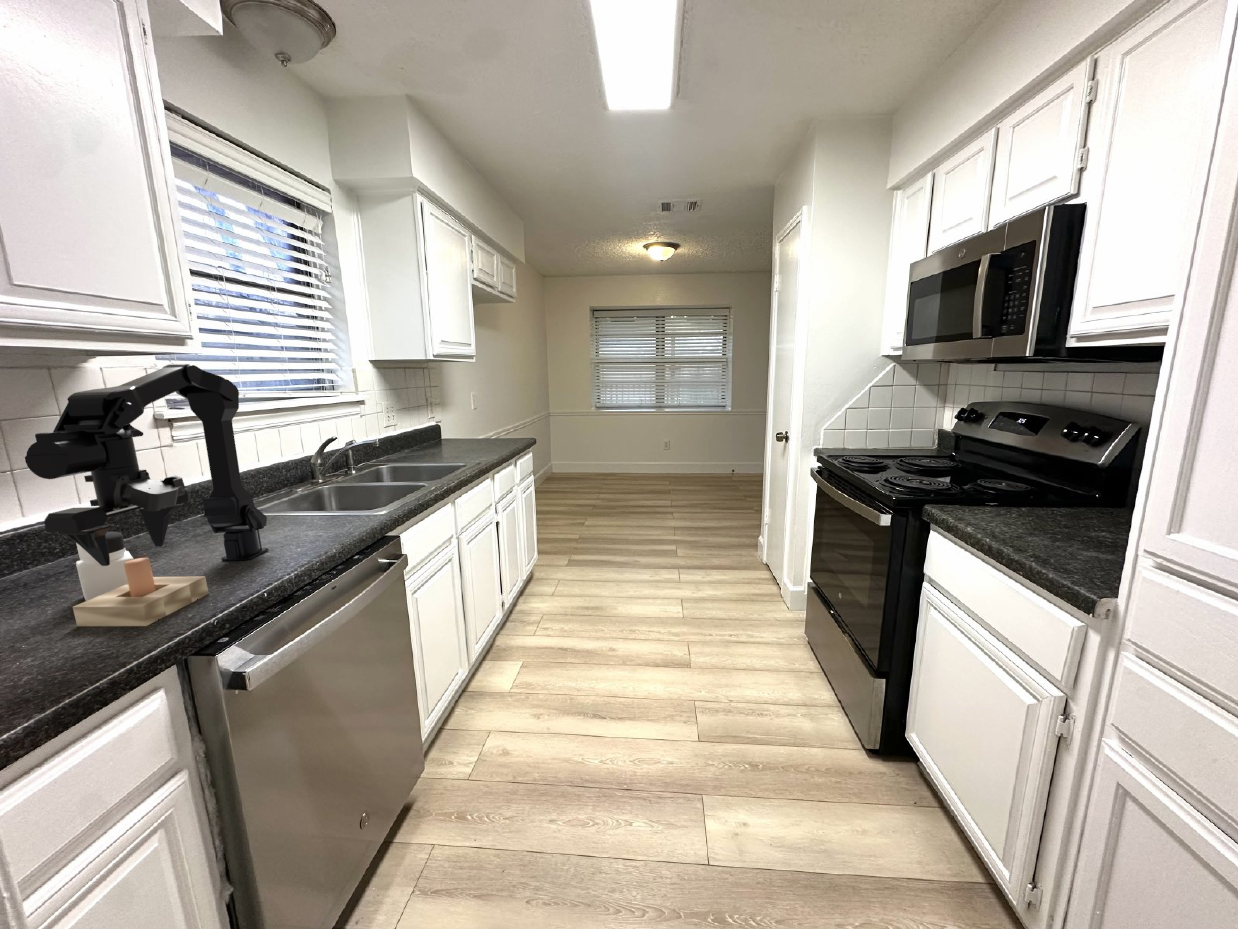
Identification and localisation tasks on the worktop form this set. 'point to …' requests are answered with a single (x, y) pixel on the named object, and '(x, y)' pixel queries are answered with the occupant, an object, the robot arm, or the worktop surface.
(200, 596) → the socket block
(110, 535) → the medicine bottle
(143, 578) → the peg
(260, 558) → the worktop surface
